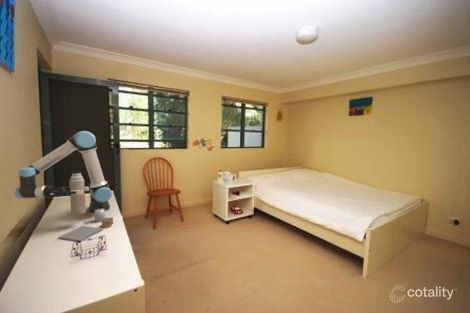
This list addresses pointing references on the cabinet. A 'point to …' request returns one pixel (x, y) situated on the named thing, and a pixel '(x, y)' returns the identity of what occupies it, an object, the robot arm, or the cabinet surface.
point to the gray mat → (80, 233)
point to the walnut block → (107, 222)
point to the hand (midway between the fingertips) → (85, 190)
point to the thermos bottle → (78, 199)
